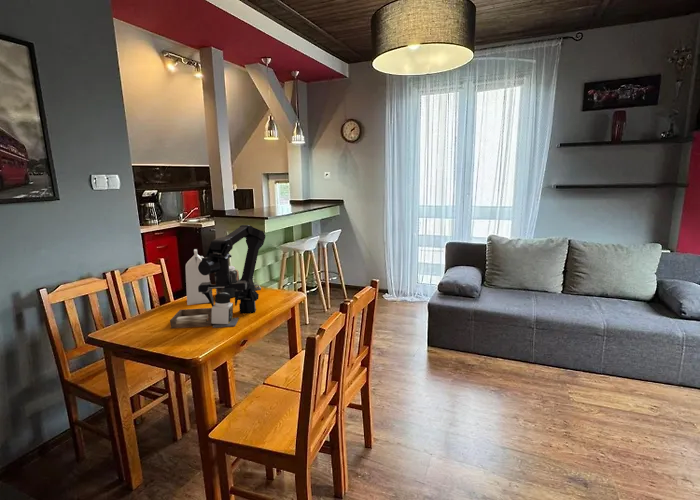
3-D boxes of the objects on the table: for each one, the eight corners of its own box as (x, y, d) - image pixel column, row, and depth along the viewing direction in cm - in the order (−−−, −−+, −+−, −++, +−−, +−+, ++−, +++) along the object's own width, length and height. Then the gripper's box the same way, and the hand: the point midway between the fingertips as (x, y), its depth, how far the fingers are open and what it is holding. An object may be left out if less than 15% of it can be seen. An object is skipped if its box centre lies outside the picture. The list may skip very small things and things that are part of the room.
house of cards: (263, 286, 216) (263, 273, 214) (264, 290, 207) (263, 277, 206) (247, 287, 213) (247, 274, 212) (247, 291, 205) (246, 278, 204)
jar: (226, 299, 191) (224, 270, 188) (212, 296, 197) (209, 268, 195) (244, 293, 201) (242, 266, 198) (230, 290, 207) (228, 264, 204)
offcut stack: (209, 322, 159) (208, 314, 158) (208, 324, 157) (207, 316, 156) (177, 325, 156) (176, 316, 156) (176, 327, 154) (175, 318, 153)
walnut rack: (218, 315, 168) (217, 307, 167) (211, 325, 155) (210, 317, 154) (180, 317, 166) (180, 309, 165) (170, 328, 153) (170, 320, 152)
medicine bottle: (228, 324, 154) (229, 296, 152) (211, 323, 154) (211, 295, 152) (232, 318, 161) (233, 291, 159) (215, 317, 161) (216, 291, 159)
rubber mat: (238, 318, 163) (238, 317, 163) (235, 326, 154) (235, 325, 154) (217, 320, 162) (217, 318, 162) (212, 327, 153) (212, 326, 153)
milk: (187, 298, 194) (183, 249, 189) (211, 295, 198) (207, 247, 193) (187, 305, 183) (182, 253, 178) (212, 302, 187) (208, 251, 182)
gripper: (247, 264, 163) (249, 299, 166) (203, 266, 160) (206, 301, 163) (244, 270, 152) (246, 307, 155) (196, 272, 150) (199, 309, 152)
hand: (224, 306), depth 157 cm, fingers open, 9 cm apart
